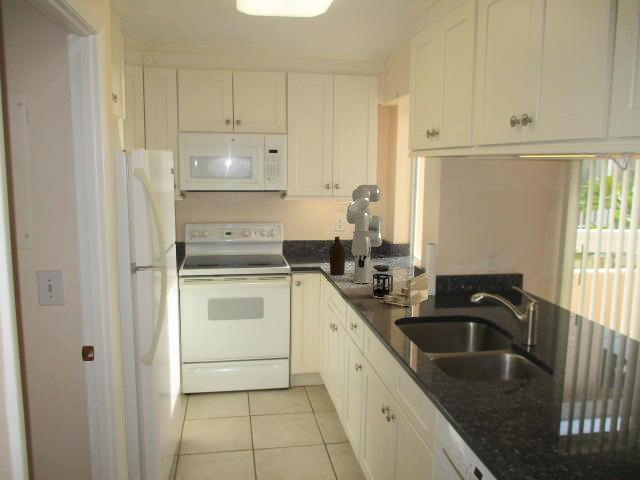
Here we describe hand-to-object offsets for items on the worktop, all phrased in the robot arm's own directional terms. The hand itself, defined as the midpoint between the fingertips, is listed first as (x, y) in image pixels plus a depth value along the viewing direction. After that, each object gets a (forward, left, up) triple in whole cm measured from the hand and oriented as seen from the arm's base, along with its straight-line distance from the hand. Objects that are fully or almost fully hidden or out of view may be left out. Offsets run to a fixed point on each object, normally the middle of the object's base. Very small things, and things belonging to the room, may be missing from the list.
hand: (361, 267), depth 270 cm
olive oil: (-40, +35, -15) cm, 55 cm away
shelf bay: (+27, +1, -15) cm, 31 cm away
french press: (+13, +1, -15) cm, 20 cm away
